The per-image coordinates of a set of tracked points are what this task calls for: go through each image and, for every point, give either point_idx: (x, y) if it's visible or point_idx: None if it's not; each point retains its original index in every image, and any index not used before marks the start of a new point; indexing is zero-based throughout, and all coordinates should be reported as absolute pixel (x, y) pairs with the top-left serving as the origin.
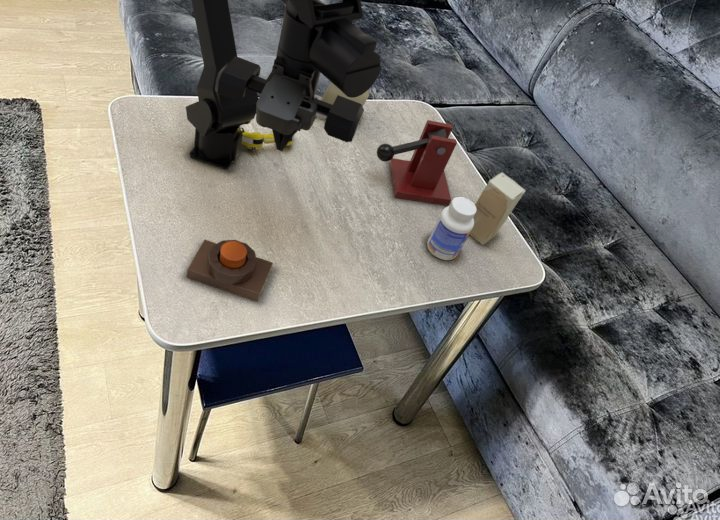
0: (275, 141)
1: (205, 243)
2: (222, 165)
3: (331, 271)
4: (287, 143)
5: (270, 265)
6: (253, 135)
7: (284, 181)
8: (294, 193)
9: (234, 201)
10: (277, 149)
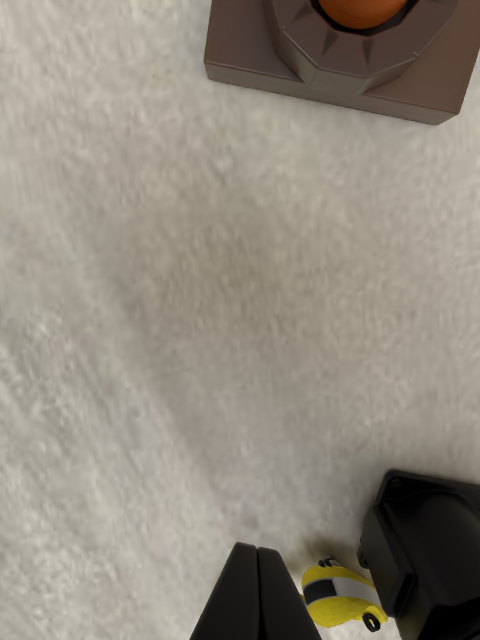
0: (310, 629)
1: (455, 92)
2: (406, 479)
3: (17, 132)
4: (192, 636)
5: (210, 43)
6: (340, 612)
7: (219, 469)
8: (184, 431)
9: (355, 354)
10: (272, 551)
